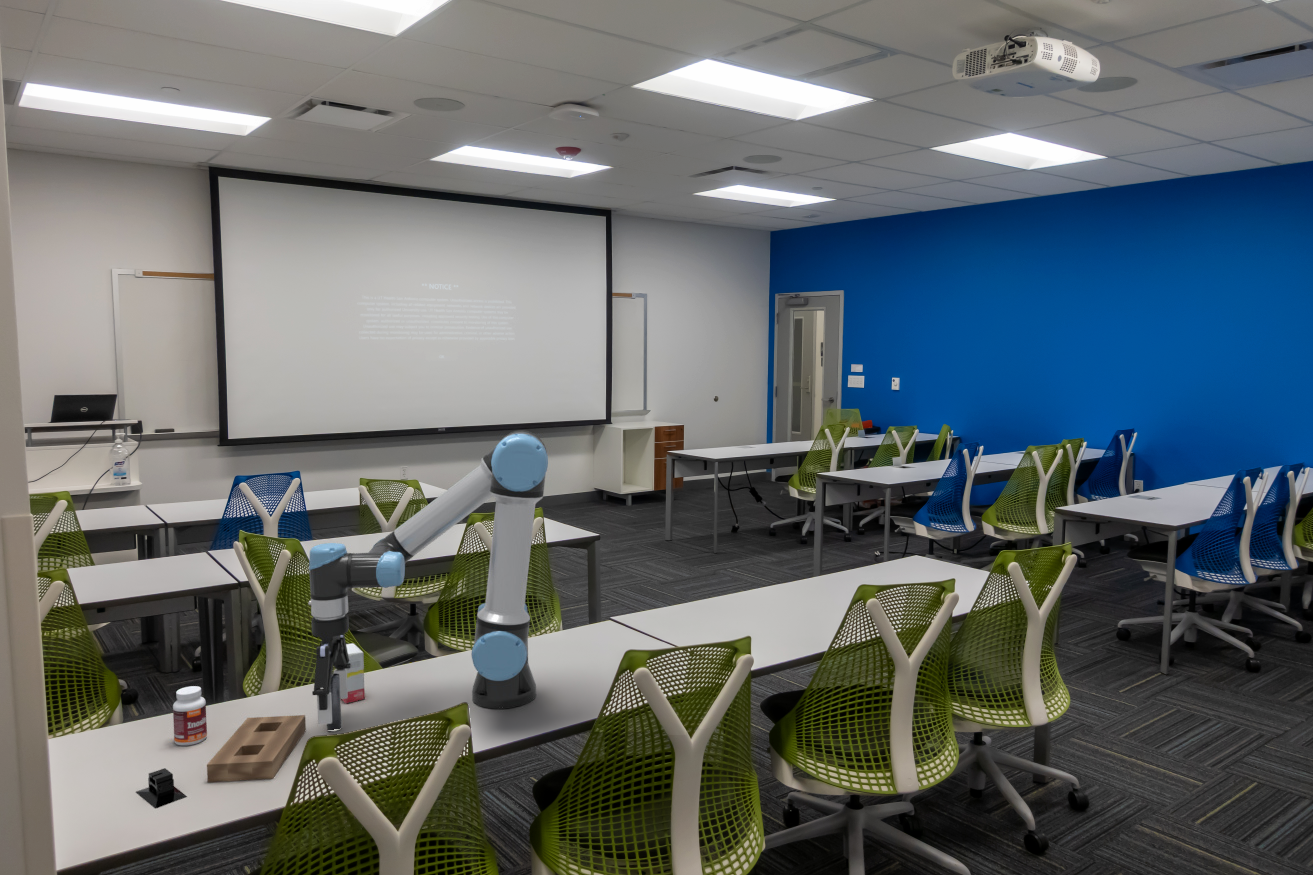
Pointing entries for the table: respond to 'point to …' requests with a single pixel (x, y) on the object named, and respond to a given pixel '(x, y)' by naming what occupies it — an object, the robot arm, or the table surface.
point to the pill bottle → (189, 716)
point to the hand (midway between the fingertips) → (333, 710)
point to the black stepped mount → (161, 789)
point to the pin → (335, 703)
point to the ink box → (355, 674)
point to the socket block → (257, 749)
